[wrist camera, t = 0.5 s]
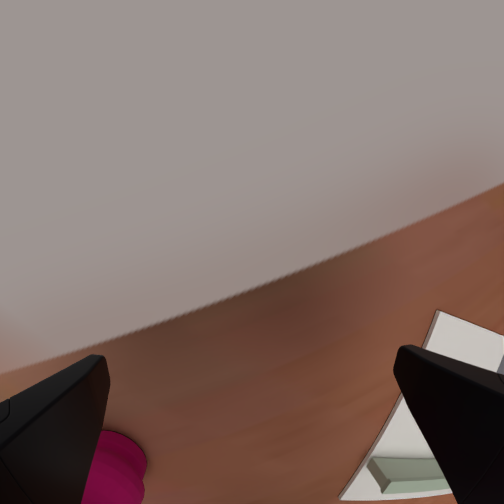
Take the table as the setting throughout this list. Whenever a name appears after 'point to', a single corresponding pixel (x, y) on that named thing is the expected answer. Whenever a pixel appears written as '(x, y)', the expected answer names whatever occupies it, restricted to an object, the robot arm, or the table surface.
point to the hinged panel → (407, 475)
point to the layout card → (401, 420)
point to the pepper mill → (115, 472)
